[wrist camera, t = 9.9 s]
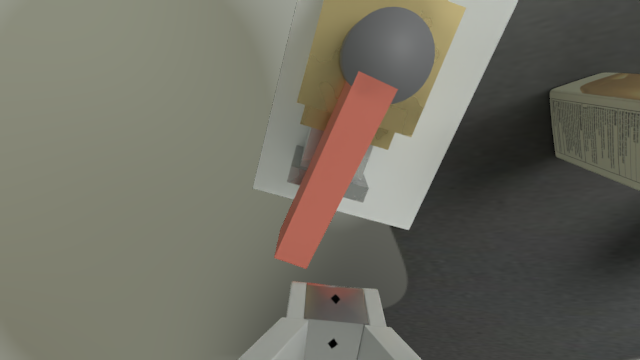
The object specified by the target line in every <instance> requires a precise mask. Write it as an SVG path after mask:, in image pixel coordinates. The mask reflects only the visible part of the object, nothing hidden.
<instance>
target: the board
mask: <svg viewBox="0 0 640 360" xmlns="http://www.w3.org/2000/svg"><path fill="white" fill-rule="evenodd" d="M323 1H324V0H297V3H296V8H295V12H294V16H293V20H292V24H291V29H290V33H289V37H288V41H287V45H286V50H285V54H284V58H283V62H282V67H281V71H280V75H279V79H278V84H277V88H276V92H275V96H274V100H273V104H272V109H271V113H270V117H269V121H268V126H267V130H266V134H265V138H264V143H263V147H262V151H261V155H260V160H259V164H258V168H257V172H256V176H255V180H254V185H253V189H256V190H260V191H264V192H267V193H271V194H275V195H279V196H282V197H286V198H290V199H294V198H295V196H296V193H297V191H298V189H299V187H300V185H296V184H293V183H289V182H287V179H288V175H289V171H290V167H291V163H292V159H293V156H294V152H295V149H296V145H299V146H302V147H304V144H305V140H306V137H307V133H308V130H309V126H305V125H302V124H300V122H301V118H302V114H303V111H304V107H305V105H303V104H300V103H297V99H298V95H299V92H300V88H301V84H302V80H303V77H304V73H305V69H306V65H307V61H308V58H309V54H310V50H311V46H312V43H313V39H314V35H315V31H316V28H317V24H318V20H319V16H320V13H321V9H322V5H323ZM448 1H449V2H452V3H455V4H457V5H460V6H463V7H466V10H465V12H464V14H463V17H462V19H461V21H460V24H459V26H458V28H457V31H456V33H455V35H454V38H453V40H452V43H451V45H450V47H449V50H448V52H447V54H446V57H445V59H444V61H443V64H442V66H441V68H440V71H439V73H438V76H437V78H436V80H435V83H434V85H433V87H432V90H431V92H430V94H429V97H428V99H427V101H426V104H425V106H424V109H423V111H422V113H421V116H420V118H419V120H418V123H417V125H416V127H415V130H414V132H413V135H412V137H409V136H405V135H402V134H399V133H395V134H394V136H393V139H392V141H391V144H390V146H389V149H388V150H386V149H383V148H379V147H376V146H373V149H372V151H371V154H370V157H369V159H368V162H367V164H366V167H365V170H364V172H363V174H364V176H365V179H366V182H367V184H368V187H369V189H368V191H367V194H366V196H365V199H364V202H363V203H362V202H359V201H355V200H351V199H348V198H344V197H343V198H342V200H341V202H340V204H339V206H338V208H337V210H336V211H339V212H343V213H346V214H350V215H354V216H358V217H361V218H365V219H369V220H372V221H376V222H380V223H384V224H387V225H391V226H395V227H399V228H402V229H406V230H409V229H410V226H411V224H412V222H413V220H414V218H415V216H416V214H417V212H418V210H419V208H420V206H421V203H422V201H423V199H424V197H425V195H426V193H427V191H428V189H429V187H430V185H431V182H432V180H433V178H434V176H435V174H436V172H437V170H438V168H439V166H440V164H441V162H442V159H443V157H444V155H445V153H446V151H447V149H448V147H449V145H450V143H451V141H452V138H453V136H454V134H455V132H456V130H457V128H458V126H459V124H460V122H461V120H462V118H463V115H464V113H465V111H466V109H467V107H468V105H469V103H470V101H471V99H472V97H473V95H474V92H475V90H476V88H477V86H478V84H479V82H480V80H481V78H482V76H483V74H484V71H485V69H486V67H487V65H488V63H489V61H490V59H491V57H492V55H493V53H494V51H495V48H496V46H497V44H498V42H499V40H500V38H501V36H502V34H503V32H504V30H505V27H506V25H507V23H508V21H509V19H510V17H511V15H512V13H513V11H514V9H515V7H516V4H517V2H518V0H448Z"/></svg>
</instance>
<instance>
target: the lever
mask: <svg viewBox="0 0 640 360" xmlns="http://www.w3.org/2000/svg"><path fill="white" fill-rule="evenodd" d="M434 58H435V45H434V39H433V36H432V33H431V31H430V29H429V27H428V26H427V24H426V23H425V21H424V20H423V19H422V18H421V17H420V16H419V15H417V14H416V13H414V12H413V11H410V10H408V9H405V8H401V7H385V8H381V9H378V10H375V11H373V12H371V13H370V14H368V15H367V16H365V17H364V18H363V19H361V20H360V21H359V22H358V23H357V24H355V25H354V26H353V27H352V28H351V29H350V31H349V32H348V33H347V35H346V36H345V38H344V40H343V43H342V46H341V50H340V68H341V71H342V74H343V76H344V78H345V80H346V83H345V85H344V87H343V90H342V92H341V94H340V96H339V99H338V101H337V103H336V105H335V108H334V110H333V112H332V114H331V117H330V119H329V121H328V123H327V126H326V128H325V130H324V133H323V135H322V137H321V139H320V142H319V144H318V146H317V148H316V151H315V153H314V155H313V157H312V160H311V162H310V164H309V166H308V169H307V171H306V173H305V175H304V178H303V180H302V182H301V184H300V187H299V189H298V191H297V193H296V196H295V198H294V200H293V202H292V205H291V207H290V209H289V212H288V214H287V216H286V218H285V220H284V223H283V225H282V227H281V230H280V234H279V239H278V243H277V247H276V252H275V256H274V258H276V259H279V260H282V261H285V262H288V263H291V264H294V265H296V266H300V267H302V268H305V269H307V267H308V265H309V263H310V261H311V259H312V257H313V255H314V253H315V251H316V249H317V247H318V245H319V243H320V241H321V239H322V237H323V235H324V234H325V232H326V230H327V228H328V226H329V224H330V222H331V220H332V218H333V216H334V214H335V212H336V210H337V208H338V206H339V204H340V202H341V200H342V198H343V196H344V194H345V192H346V190H347V188H348V186H349V185H350V183H351V181H352V179H353V177H354V175H355V173H356V171H357V169H358V167H359V165H360V163H361V161H362V159H363V157H364V155H365V153H366V151H367V149H368V147H369V145H370V143H371V141H372V139H373V138H374V136H375V134H376V132H377V130H378V128H379V126H380V124H381V122H382V120H383V118H384V116H385V114H386V112H387V110H388V108H389V106H390V104H395V103H399V102H402V101H404V100H406V99H408V98H409V97H411V96H413V95H414V94H415V93H416V92H417V91H418V90H419V89H420V88H421V87H422V86H423V85H424V83H425V82H426V80H427V79H428V77H429V75H430V73H431V70H432V67H433V63H434Z"/></svg>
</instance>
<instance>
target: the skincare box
mask: <svg viewBox="0 0 640 360" xmlns="http://www.w3.org/2000/svg"><path fill="white" fill-rule="evenodd" d="M550 109H551V120H552V130H553V139H554V147H555V155H556V157H558V158H560V159H563V160H565V161H567V162H570V163H572V164H575V165H577V166H580V167H582V168H585V169H587V170H590V171H592V172H595V173H597V174H600V175H602V176H605V177H607V178H609V179H612V180H614V181H617V182H619V183H622V184H624V185H627V186H629V187H632V188H634V189H637V190H639V191H640V74H629V73H600V74H596V75H593V76H590V77H587V78H584V79H580V80H578V81H574V82H571V83H569V84H566V85H563V86H560V87H557V88H554V89H552V90H551V91H550Z"/></svg>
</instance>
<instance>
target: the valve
mask: <svg viewBox="0 0 640 360" xmlns="http://www.w3.org/2000/svg"><path fill="white" fill-rule="evenodd" d="M385 7H401V8H405V9H408V10H410V11H413V12H414V13H416V14H417V15H419V16H420V17H421V18H422V19H423V20H424V21H425V23H426V24H427V26H428V27H429V29H430V31H431V33H432V36H433V39H434V45H435V58H434V63H433V67H432V70H431V73H430V75H429V77H428V79H427V80H426V82H425V83H424V85H423V86H422V87H421V88H420V89H419V90H418V91H417V92H416V93H415V94H414V95H413V96H411V97H409V98H408V99H406V100H404V101H402V102H399V103H395V104H390V106H389V108H388V110H387V112H386V114H385V116H384V118H383V120H382V122H381V124H380V126H379V128H378V130H377V132H376V134H375V136H374V138H373V139H372V141H371V143H370V145H369V147H368V149H367V151H366V153H365V155H364V157H363V159H362V161H361V163H360V165H359V167H358V169H357V171H356V173H355V175H354V177H353V179H352V181H351V183H350V185H349V186H348V188H347V190H346V192H345V194H344V196H343V197H344V198H348V199H351V200H355V201H359V202H362V203H363V202H364V199H365V196H366V194H367V191H368V189H369V187H368V184H367V182H366V179H365V176H364V174H363V172H364V170H365V167H366V164H367V162H368V159H369V157H370V154H371V151H372V149H373V146H376V147H379V148H383V149H386V150H388V149H389V146H390V144H391V141H392V139H393V136H394V134H395V133H399V134H402V135H405V136H409V137H412V135H413V132H414V130H415V127H416V125H417V123H418V120H419V118H420V116H421V113H422V111H423V109H424V106H425V104H426V101H427V99H428V97H429V94H430V92H431V90H432V87H433V85H434V83H435V80H436V78H437V76H438V73H439V71H440V68H441V66H442V64H443V61H444V59H445V57H446V54H447V52H448V50H449V47H450V45H451V43H452V40H453V38H454V35H455V33H456V31H457V28H458V26H459V24H460V21H461V19H462V17H463V14H464V12H465V10H466V7H463V6H460V5H457V4H455V3H452V2H449V1H448V0H324V1H323V5H322V9H321V13H320V16H319V20H318V24H317V28H316V31H315V35H314V39H313V43H312V46H311V50H310V54H309V58H308V61H307V65H306V69H305V73H304V77H303V80H302V84H301V88H300V92H299V95H298V99H297V103H300V104H303V105H305V107H304V111H303V114H302V118H301V122H300V124H302V125H305V126H309V130H308V133H307V137H306V140H305V144H304V147H302V146H299V145H296V149H295V152H294V156H293V159H292V163H291V167H290V171H289V175H288V179H287V182H289V183H293V184H296V185H300V184H301V182H302V180H303V178H304V175H305V173H306V171H307V169H308V166H309V164H310V162H311V160H312V157H313V155H314V153H315V151H316V148H317V146H318V144H319V142H320V139H321V137H322V135H323V133H324V130H325V128H326V126H327V123H328V121H329V119H330V117H331V114H332V112H333V110H334V108H335V105H336V103H337V101H338V99H339V96H340V94H341V92H342V90H343V87H344V85H345V83H346V80H345V78H344V76H343V74H342V71H341V68H340V50H341V46H342V43H343V40H344V38H345V36H346V35H347V33H348V32H349V31H350V29H351V28H352V27H353V26H354V25H355V24H357V23H358V22H359V21H360V20H361V19H363V18H364V17H365V16H367V15H368V14H370V13H371V12H373V11H375V10H378V9H381V8H385Z"/></svg>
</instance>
